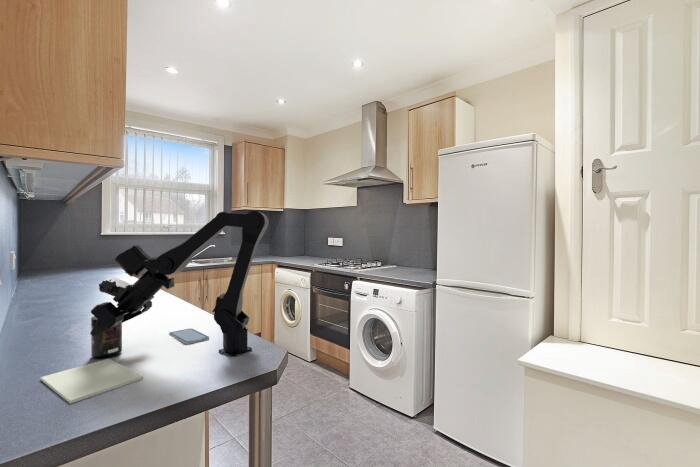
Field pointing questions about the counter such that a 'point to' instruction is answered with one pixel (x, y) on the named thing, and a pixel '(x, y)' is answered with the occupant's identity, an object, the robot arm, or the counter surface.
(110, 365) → the mat
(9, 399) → the counter surface
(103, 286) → the robot arm
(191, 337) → the smartphone
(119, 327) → the supplement container
